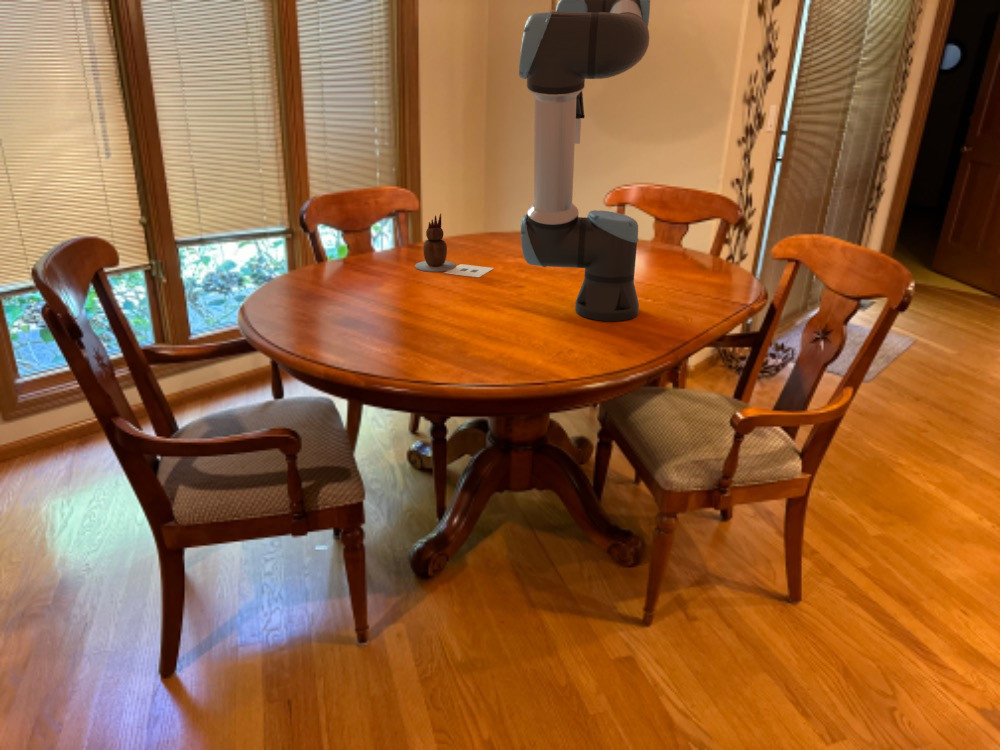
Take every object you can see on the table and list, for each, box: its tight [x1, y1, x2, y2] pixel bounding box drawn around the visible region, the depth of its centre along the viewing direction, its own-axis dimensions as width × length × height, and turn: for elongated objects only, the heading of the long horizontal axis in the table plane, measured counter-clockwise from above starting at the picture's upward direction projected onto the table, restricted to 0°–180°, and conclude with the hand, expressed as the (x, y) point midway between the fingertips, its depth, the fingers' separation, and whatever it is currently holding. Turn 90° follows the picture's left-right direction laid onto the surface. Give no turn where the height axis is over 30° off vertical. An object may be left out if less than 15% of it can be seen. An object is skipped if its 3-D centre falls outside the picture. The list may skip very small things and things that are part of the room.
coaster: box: [414, 260, 457, 273], centre depth 202 cm, size 12×12×1 cm
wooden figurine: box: [422, 213, 448, 266], centre depth 199 cm, size 7×6×15 cm
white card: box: [443, 263, 495, 278], centre depth 198 cm, size 11×11×1 cm
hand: (567, 145), depth 186 cm, fingers open, 13 cm apart
